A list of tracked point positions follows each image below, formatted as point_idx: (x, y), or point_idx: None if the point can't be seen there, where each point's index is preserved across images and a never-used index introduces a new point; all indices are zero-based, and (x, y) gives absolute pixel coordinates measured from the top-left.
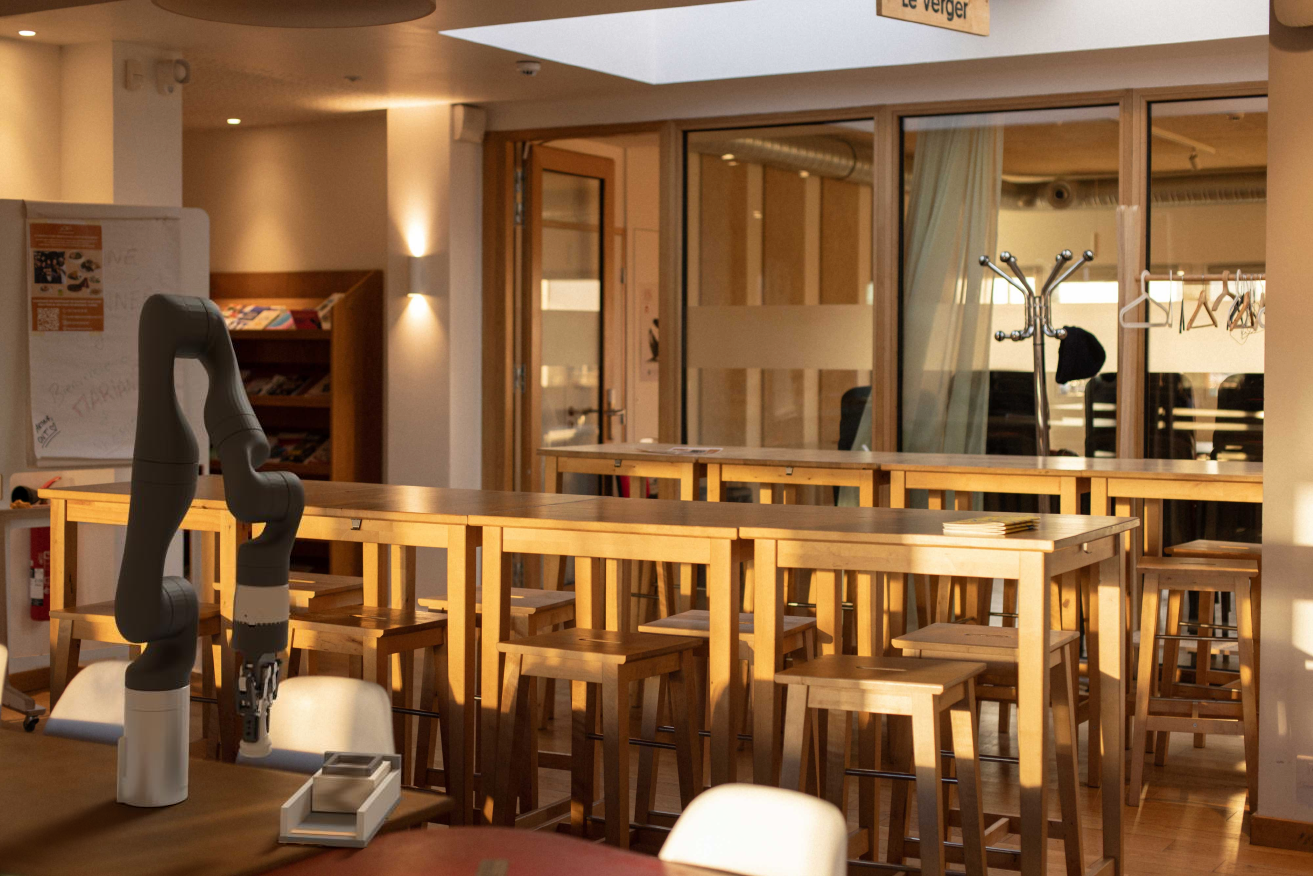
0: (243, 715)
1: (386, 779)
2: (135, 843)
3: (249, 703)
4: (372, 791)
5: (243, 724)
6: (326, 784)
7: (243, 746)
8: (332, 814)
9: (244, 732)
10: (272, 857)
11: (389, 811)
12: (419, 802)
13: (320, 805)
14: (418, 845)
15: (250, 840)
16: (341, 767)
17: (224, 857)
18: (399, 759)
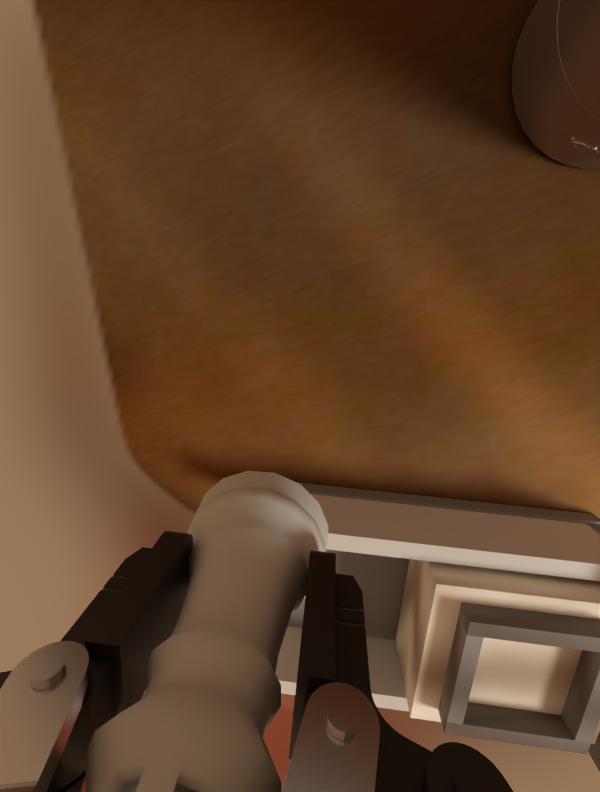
0: (88, 641)
1: None
2: (214, 164)
3: (93, 760)
4: (405, 683)
5: (122, 593)
6: (425, 600)
7: (197, 512)
8: (402, 564)
9: (114, 576)
10: (174, 481)
11: None
12: None
13: None
14: None
15: (265, 420)
16: (458, 667)
17: (158, 394)
18: (597, 766)
